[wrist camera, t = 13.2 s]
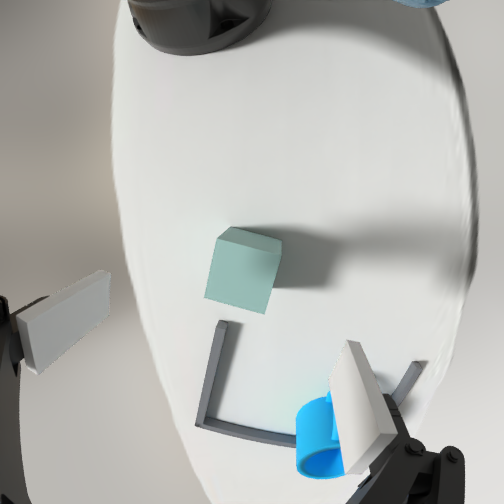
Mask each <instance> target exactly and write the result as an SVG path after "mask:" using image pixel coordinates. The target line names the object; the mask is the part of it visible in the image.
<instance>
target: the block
mask: <svg viewBox="0 0 504 504" xmlns="http://www.w3.org/2000/svg"><path fill="white" fill-rule="evenodd" d="M281 256H282V240H279V239H275V238H272V237H268V236H264V235H260V234H257V233H253V232H249V231H245V230H241V229H238V228H234V227H230V228H228V229H227V230H226V231H225V232H224V233H223V234H221V235H220V236H219V237H218V238H217V240H216V244H215V249H214V253H213V258H212V263H211V267H210V272H209V277H208V282H207V286H206V291H205V296H204V298H207V299H211V300H214V301H217V302H221V303H224V304H228V305H232V306H235V307H239V308H242V309H246V310H250V311H254V312H257V313H261V314H265V311H266V307H267V304H268V301H269V297H270V294H271V291H272V287H273V284H274V280H275V277H276V274H277V270H278V267H279V263H280V260H281Z"/></svg>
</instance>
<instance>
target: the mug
mask: <svg viewBox="0 0 504 504" xmlns="http://www.w3.org/2000/svg"><path fill="white" fill-rule="evenodd" d="M296 466H297V471H298V472H299V473H300V474H301V475H303V476H306V477H308V478H313V479H331V478H337V477H340V476H344V475H347V474H345V472H344V465H343V459H342V453H341V447H340V441H339V435H338V429H337V424H336V418H335V413H334V408H333V403H332V397H331V392H330V391H329V392H328V394H327V397H321V398H318V399H315V400H313V401H310V402H309V403H307V404H306V405H304V406H303V407H302V408H301V409H300V410H299V411H298V413H297V416H296Z"/></svg>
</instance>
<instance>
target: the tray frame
mask: <svg viewBox="0 0 504 504" xmlns="http://www.w3.org/2000/svg"><path fill="white" fill-rule="evenodd" d="M227 325H228V323H227V322H223V321H220V320H219V322H218V324H217V326H216V329H215V334H214V338H213V343H212V347H211V352H210V356H209V361H208V366H207V370H206V375H205V380H204V384H203V389H202V394H201V398H200V403H199V408H198V413H197V418H196V422H195V426H197V427H200V428H203V429H207V430H210V431H214V432H218V433H221V434H225V435H229V436H233V437H238V438H242V439H246V440H251V441H256V442H261V443H266V444H272V445H278V446H284V447H291V448H296V436H289V435H283V434H277V433H272V432H266V431H261V430H256V429H252V428H247V427H243V426H238V425H234V424H230V423H226V422H223V421H219V420H215V419H212V418H208V417H205V416H206V412H207V408H208V403H209V399H210V395H211V391H212V387H213V383H214V379H215V374H216V370H217V366H218V362H219V358H220V354H221V350H222V346H223V342H224V338H225V334H226V330H227ZM421 371H422V367H421V366H420V364H419V363H418V362H412V363H411V365H410V367H409V368H408V370H407V372H406V373H405V375H404V377H403V379H402V380H401V382H400V383H399V385H398V387H397V388H396V390H395V391H394V393H393V394H392V396H391V398H392V399H393V400H394V401H395V403H396V405H397V407H398V406H399V405H400V404H401V402H402V401H403V399H404V398H405V396H406V395H407V393H408V392H409V390H410V389H411V387H412V385H413V384H414V382H415V381H416V379H417V377H418V376H419V374H420V372H421Z"/></svg>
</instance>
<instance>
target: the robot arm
mask: <svg viewBox="0 0 504 504" xmlns="http://www.w3.org/2000/svg"><path fill="white" fill-rule="evenodd" d="M393 1H396V2H398V3H401V4H403V5H406V6H409V7H414V8H429V7H433V6H437V5H439V4H442V3H444V2H445V1H448V0H393ZM128 4H129V8H130V11H131V14H132V16H133V22H134V25H135V28H136V30H137V31H138V33H139V34H140V36H141V37H142V38H143V39H145V40H146V41H147V42H148V43H149V44H150V45H151V46H152V47H154V48H155V49H157V50H159V51H162V52H164V53H168V54H173V55H198V54H204V53H209V52H213V51H216V50H219V49H222V48H225V47H227V46H230V45H232V44H234V43H236V42H238V41H240V40H241V39H243V38H245V37H246V36H248V35H249V34H250V33H252V32H253V31H254V30H255V29H256V28H257V27H258V26H259V25H260V24H261V23H262V22H263V20H264V19H265V17H266V16H267V14H268V12H269V9H270V6H271V0H128ZM110 277H111V274H110V273H108V272H106V271H103V270H98V271H96V272H94V273H93V274H90V275H88V276H86V277H85V278H83V279H81V280H79V281H77V282H75V283H73V284H71V285H69V286H68V287H66V288H64V289H62V290H60V291H58V292H56V293H55V294H53V295H51V296H45V297H41V298H39V299H37V300H35V301H33V303H30V304H28V305H27V306H24V307H22V308H21V309H19V310H17V311H15V312H14V313H12V314H10V313H9V307H8V300H7V299H6V298H5V297H3V296H0V504H32V503H31V501H30V499H29V497H28V493H27V488H26V483H25V477H24V470H23V463H22V454H21V444H20V424H19V393H20V374H21V364H20V361H21V360H22V359H23V358H25V362H26V366H27V368H28V369H29V370H31V371H32V372H33V373H35V374H36V375H39V374H40V373H42V372H43V371H44V370H45V369H46V368H47V367H49V365H51V364H52V363H53V362H54V361H55V360H57V359H58V358H59V357H60V356H61V355H62V354H64V353H65V352H66V351H67V350H68V349H70V348H71V347H72V346H73V345H74V344H75V343H77V342H78V341H79V340H80V339H81V338H83V337H84V336H85V335H86V334H88V333H89V332H90V331H91V330H92V329H94V328H95V327H96V326H97V325H98V324H100V323H101V322H102V321H103V320H105V319H106V318H107V317H108V316H109V298H110V279H111V278H110ZM328 382H329V387H330V392H331V397H332V403H333V408H334V413H335V418H336V424H337V429H338V435H339V441H340V447H341V453H342V459H343V465H344V472H345V474H362V473H363V472H364V471H365V470H366V469H367V468H368V467H369V469H370V473H371V474H370V475H369V476H368V477H367V478H366V479H365V480H364V481H362V482H361V483H360V484H359V485H358V487H359V488H358V489H357V491H356V492H355V493H354V494H353V495H352V497H351V498H350V499H349V500H348V501H347V503H346V504H464V498H465V460H464V455H463V454H462V452H461V451H460V450H459V449H457V448H456V447H453V446H447V447H445V448H444V449H443V450H442V451H441V452H440V453H434V452H429V451H426V448H425V446H424V445H423V444H422V443H421V442H420V441H419V440H417V439H414V438H410V435H409V433H408V430H407V428H406V426H405V423H404V421H403V419H402V417H401V414H400V412H399V411H398V407H397V405H396V403H395V401H394V400H393V399H392V398H391V397H390V396H389V395H388V394H382V392H381V390H380V388H379V385H378V383H377V381H376V378H375V376H374V374H373V371H372V369H371V367H370V364H369V362H368V360H367V358H366V355H365V353H364V351H363V349H362V347H361V344H360V342H355V341H350V340H347V341H346V343H345V345H344V347H343V349H342V352H341V354H340V356H339V358H338V360H337V362H336V364H335V366H334V368H333V370H332V372H331V374H330V376H329V378H328Z"/></svg>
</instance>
